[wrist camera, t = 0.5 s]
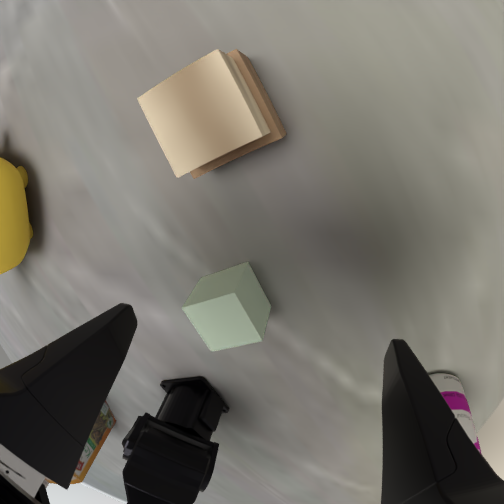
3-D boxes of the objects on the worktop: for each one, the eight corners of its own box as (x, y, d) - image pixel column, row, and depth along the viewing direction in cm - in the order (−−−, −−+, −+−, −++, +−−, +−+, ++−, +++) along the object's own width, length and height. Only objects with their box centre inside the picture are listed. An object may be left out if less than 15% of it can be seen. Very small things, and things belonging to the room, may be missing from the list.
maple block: (197, 167, 18) (177, 178, 16) (162, 98, 17) (137, 98, 14) (270, 132, 17) (262, 136, 14) (232, 58, 15) (217, 49, 12)
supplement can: (461, 359, 25) (497, 484, 12) (457, 401, 28) (479, 506, 14) (390, 381, 28) (402, 514, 14) (396, 419, 30) (403, 529, 17)
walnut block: (211, 168, 22) (193, 179, 19) (175, 97, 20) (152, 97, 17) (286, 133, 20) (281, 138, 17) (248, 58, 18) (236, 49, 15)
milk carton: (50, 363, 40) (-10, 442, 24) (98, 385, 39) (37, 479, 22) (71, 401, 45) (23, 472, 28) (116, 421, 44) (70, 504, 27)
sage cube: (225, 317, 27) (211, 351, 24) (201, 277, 26) (181, 307, 22) (271, 305, 26) (262, 340, 22) (248, 261, 24) (234, 292, 20)
